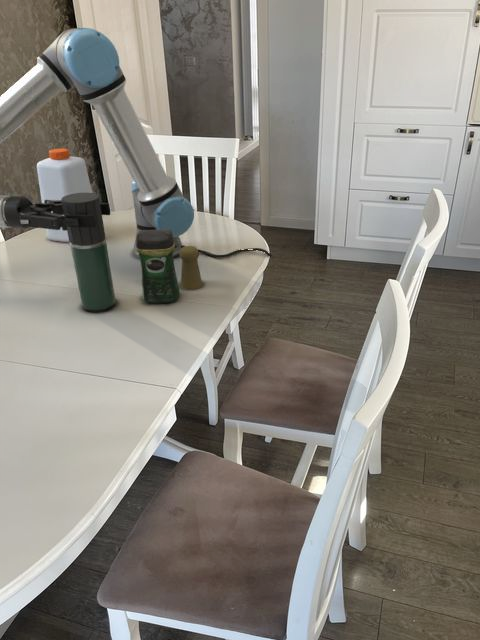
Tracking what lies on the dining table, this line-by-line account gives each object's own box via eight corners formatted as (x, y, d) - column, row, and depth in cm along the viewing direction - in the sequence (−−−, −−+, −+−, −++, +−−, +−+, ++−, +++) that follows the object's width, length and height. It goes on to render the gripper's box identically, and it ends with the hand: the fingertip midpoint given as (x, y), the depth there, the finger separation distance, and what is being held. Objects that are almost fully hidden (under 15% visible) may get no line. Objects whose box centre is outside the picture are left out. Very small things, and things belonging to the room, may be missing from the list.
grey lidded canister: (104, 231, 136) (98, 191, 131) (105, 243, 129) (99, 201, 124) (69, 234, 134) (61, 194, 129) (68, 246, 127) (60, 204, 122)
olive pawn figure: (206, 282, 153) (204, 245, 147) (195, 291, 148) (192, 253, 143) (187, 279, 155) (184, 242, 149) (176, 287, 151) (172, 249, 145)
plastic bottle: (42, 240, 182) (22, 153, 168) (68, 226, 195) (52, 144, 180) (81, 245, 178) (65, 156, 164) (105, 230, 191) (92, 146, 176)
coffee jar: (180, 291, 148) (175, 224, 139) (178, 304, 142) (172, 235, 132) (145, 291, 148) (136, 225, 138) (140, 305, 141) (132, 236, 132)
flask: (115, 296, 146) (102, 215, 134) (116, 310, 139) (103, 226, 127) (82, 300, 144) (66, 218, 132) (82, 314, 137) (65, 229, 125)
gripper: (35, 213, 141) (119, 216, 139) (-9, 242, 123) (87, 246, 121) (28, 184, 138) (115, 187, 135) (-18, 209, 119) (81, 213, 117)
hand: (102, 215), depth 128 cm, fingers closed on grey lidded canister, 8 cm apart
